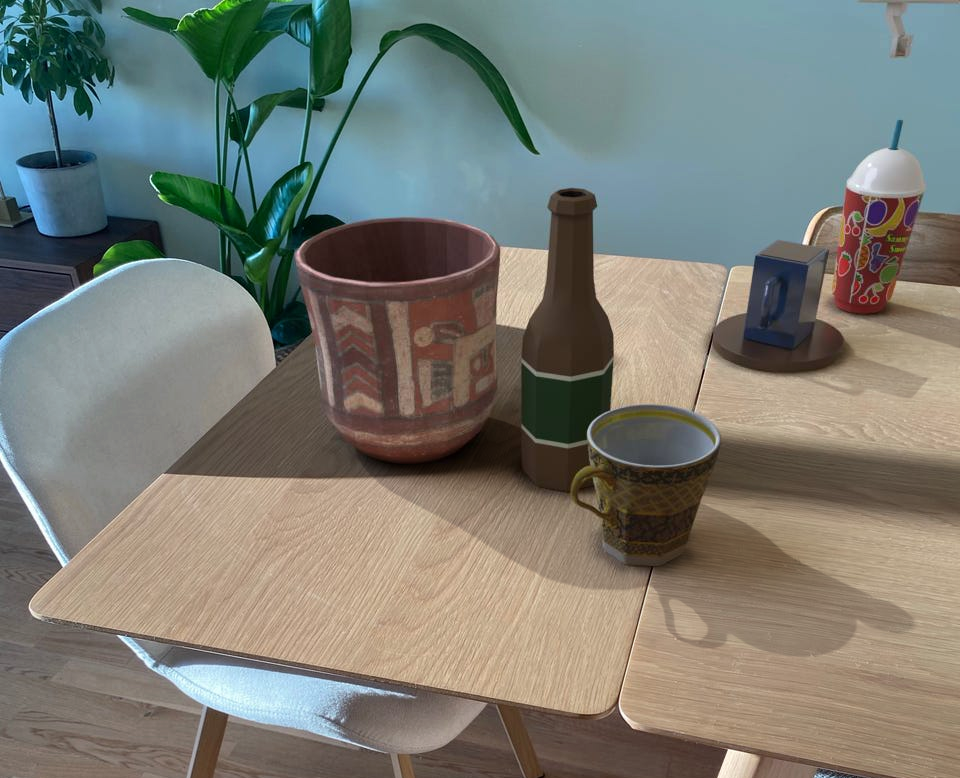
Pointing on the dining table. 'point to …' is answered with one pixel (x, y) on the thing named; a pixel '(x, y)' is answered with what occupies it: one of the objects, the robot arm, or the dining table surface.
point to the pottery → (404, 332)
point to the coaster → (777, 348)
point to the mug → (785, 293)
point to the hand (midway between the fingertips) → (949, 59)
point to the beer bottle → (565, 351)
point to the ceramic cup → (648, 478)
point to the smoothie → (876, 227)
